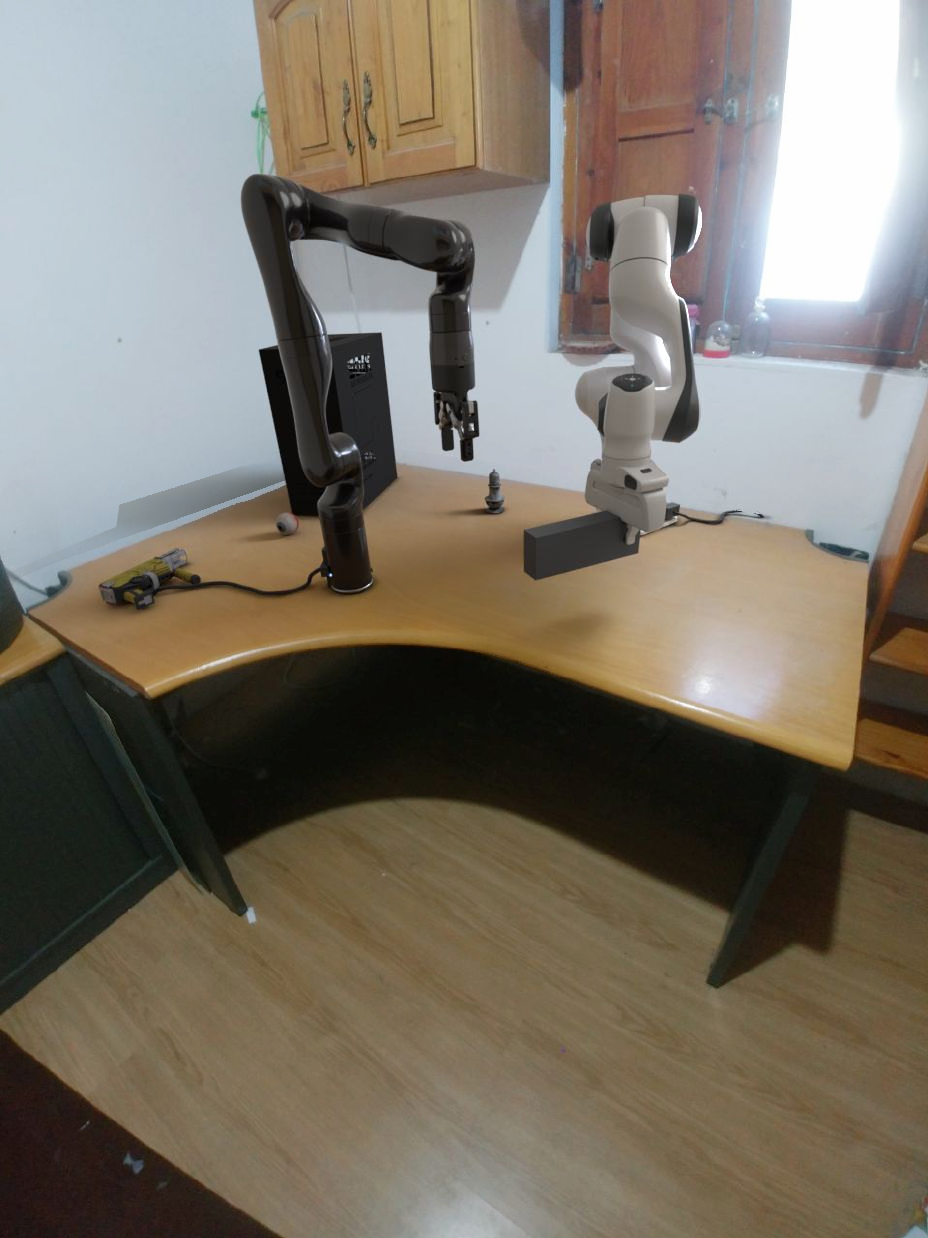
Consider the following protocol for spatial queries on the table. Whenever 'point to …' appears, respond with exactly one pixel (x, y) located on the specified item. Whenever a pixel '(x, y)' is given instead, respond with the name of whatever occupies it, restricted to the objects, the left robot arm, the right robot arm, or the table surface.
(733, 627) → the table surface
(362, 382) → the cardboard box
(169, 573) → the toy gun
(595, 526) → the bar
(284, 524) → the eyeball
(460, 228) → the left robot arm
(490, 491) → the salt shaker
